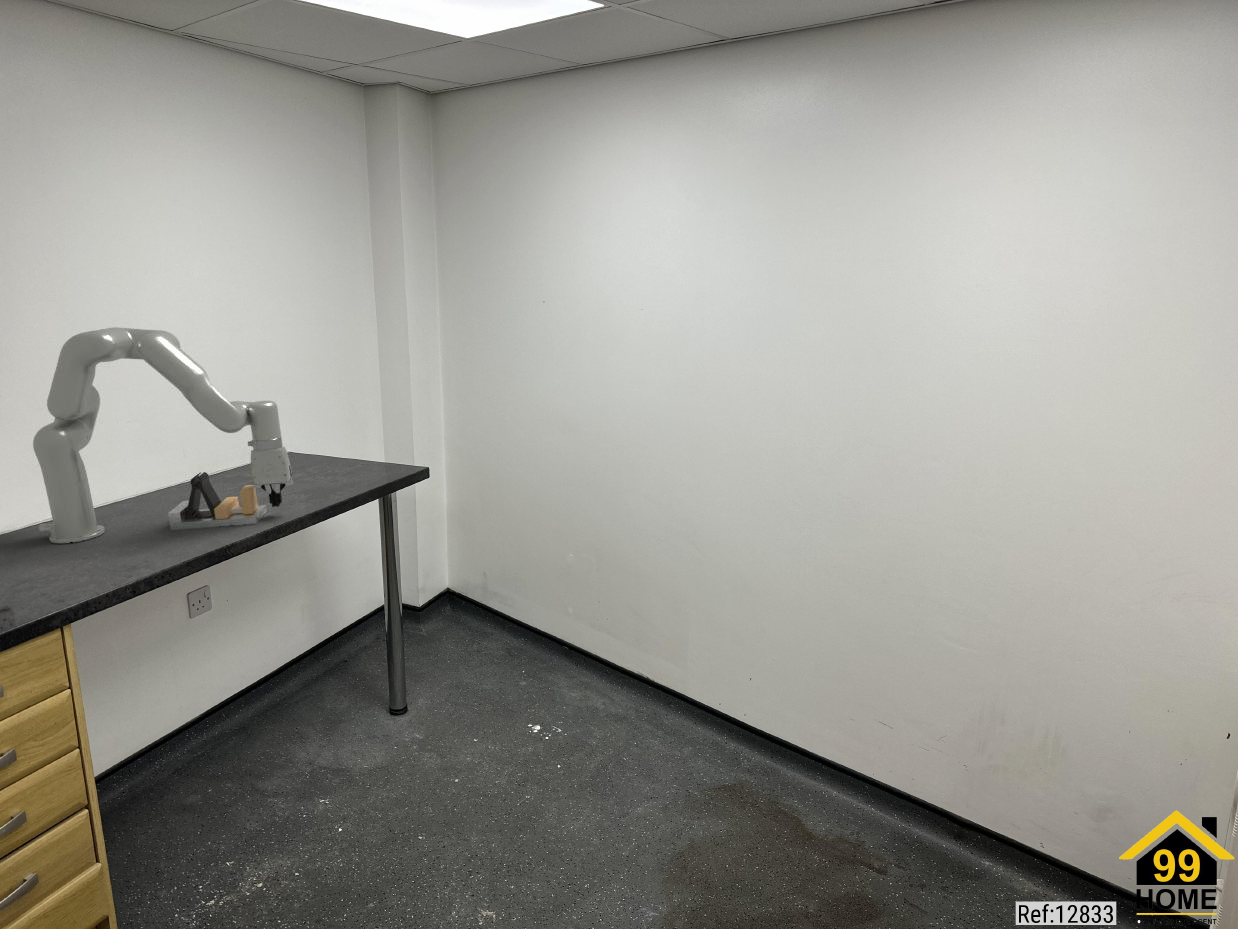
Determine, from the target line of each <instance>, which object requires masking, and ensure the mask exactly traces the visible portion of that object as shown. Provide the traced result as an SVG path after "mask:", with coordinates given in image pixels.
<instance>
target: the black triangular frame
mask: <svg viewBox="0 0 1238 929" xmlns="http://www.w3.org/2000/svg"><path fill="white" fill-rule="evenodd" d="M190 484H191V489H190V490H191V491H190V495H189V500H188V501H189V503H188V507H187V511H186V516H185V519H195V518H202V517H203V518H209V517H215V512H214V509H215V508H216V507H217V506H218V505H219V504H220V503H221V502H222V501H221V500H220V498H219V496H218V494H217V492H216V490H215V489H214V487H213V485H212V484H211V482H210V475H209V473H208V472H206V471H204V472H199V473H197V474H196V475H195V476H194V477H191V479H190ZM201 497H202V498H203V499H204V501H205V503H206V505H207V507H208V508H207V509H209V511H199V510H200V504H201Z"/></svg>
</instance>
